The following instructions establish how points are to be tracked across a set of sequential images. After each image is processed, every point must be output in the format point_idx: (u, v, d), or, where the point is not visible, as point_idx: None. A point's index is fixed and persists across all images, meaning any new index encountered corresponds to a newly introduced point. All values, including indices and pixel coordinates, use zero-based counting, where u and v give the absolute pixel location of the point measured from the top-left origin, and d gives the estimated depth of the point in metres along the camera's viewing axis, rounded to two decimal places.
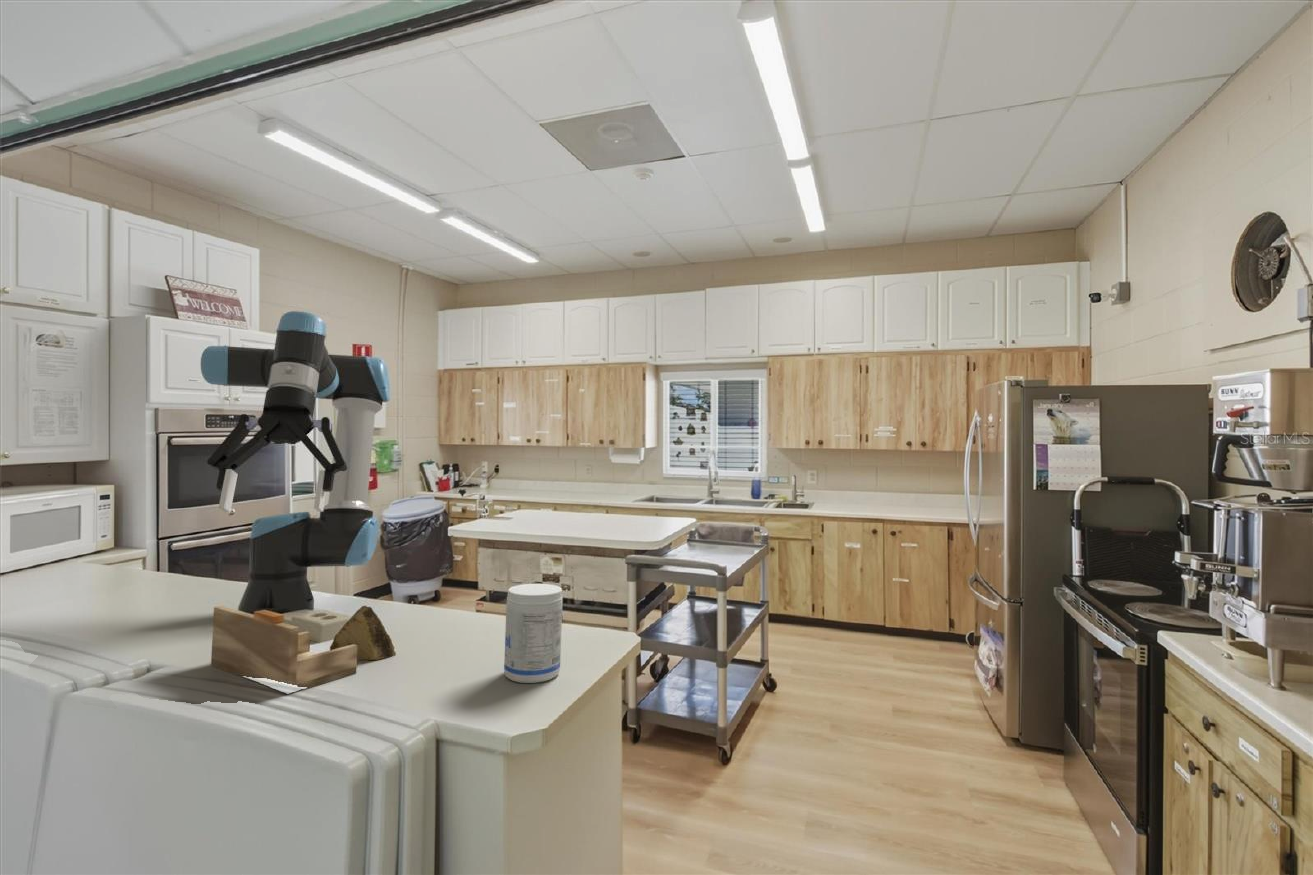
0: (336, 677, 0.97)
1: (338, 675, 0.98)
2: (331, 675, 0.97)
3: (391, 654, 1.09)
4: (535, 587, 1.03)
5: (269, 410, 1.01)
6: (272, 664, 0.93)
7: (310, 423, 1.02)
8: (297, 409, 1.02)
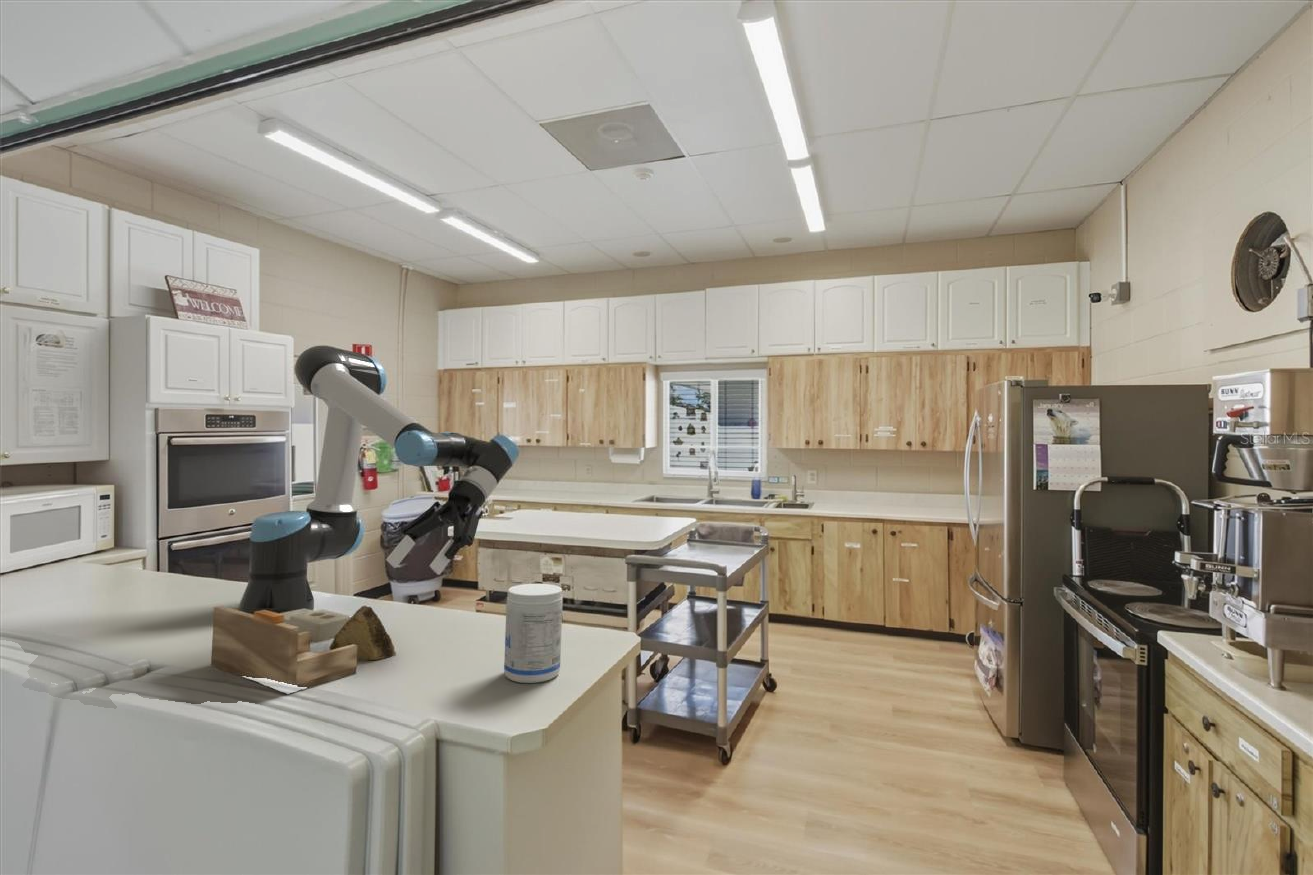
0: (336, 677, 0.97)
1: (338, 675, 0.98)
2: (331, 675, 0.97)
3: (391, 654, 1.09)
4: (535, 587, 1.03)
5: (451, 499, 1.31)
6: (272, 664, 0.93)
7: (466, 508, 1.26)
8: (463, 498, 1.28)
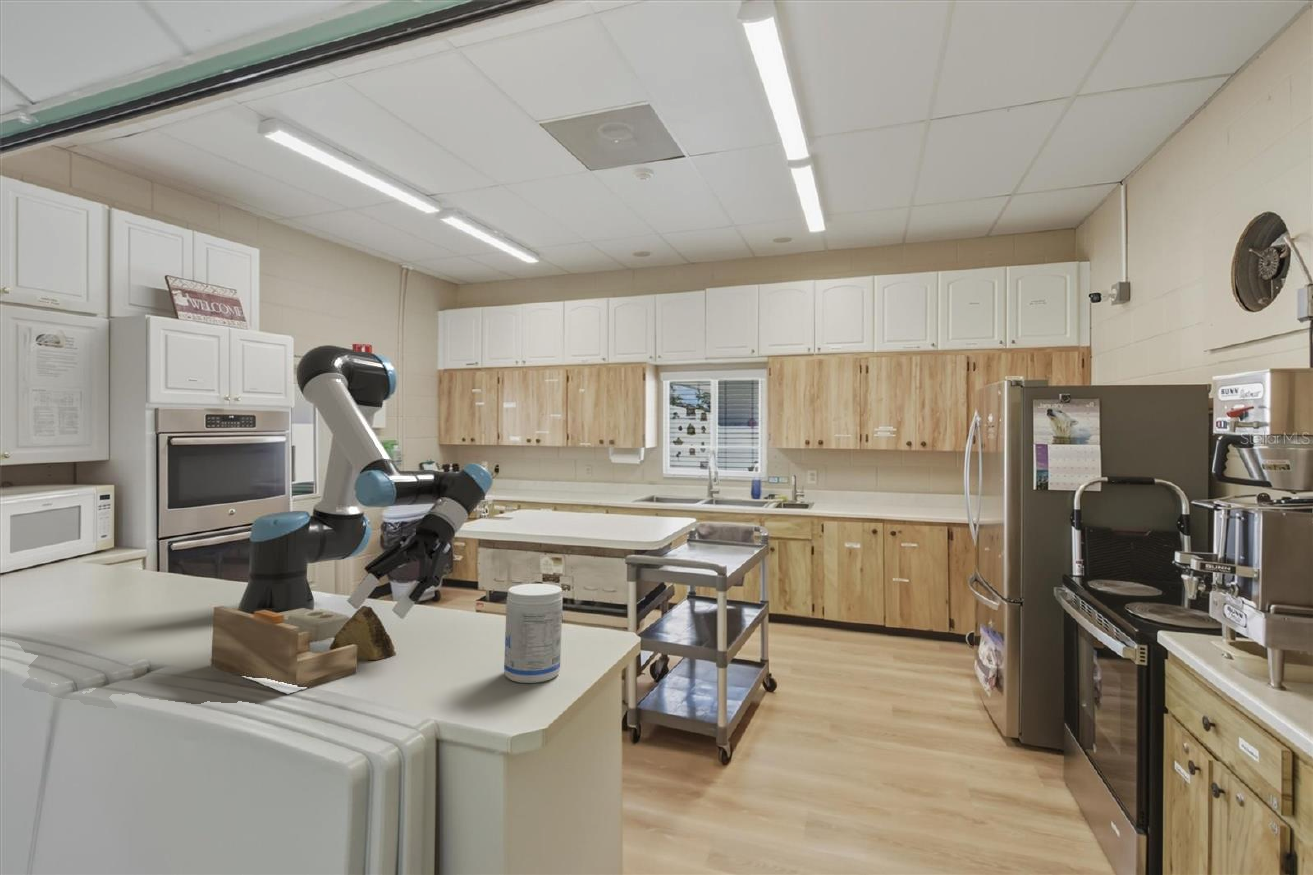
0: (336, 677, 0.97)
1: (338, 675, 0.98)
2: (331, 675, 0.97)
3: (391, 654, 1.09)
4: (535, 587, 1.03)
5: (418, 534, 1.23)
6: (272, 664, 0.93)
7: (434, 544, 1.19)
8: (431, 533, 1.21)
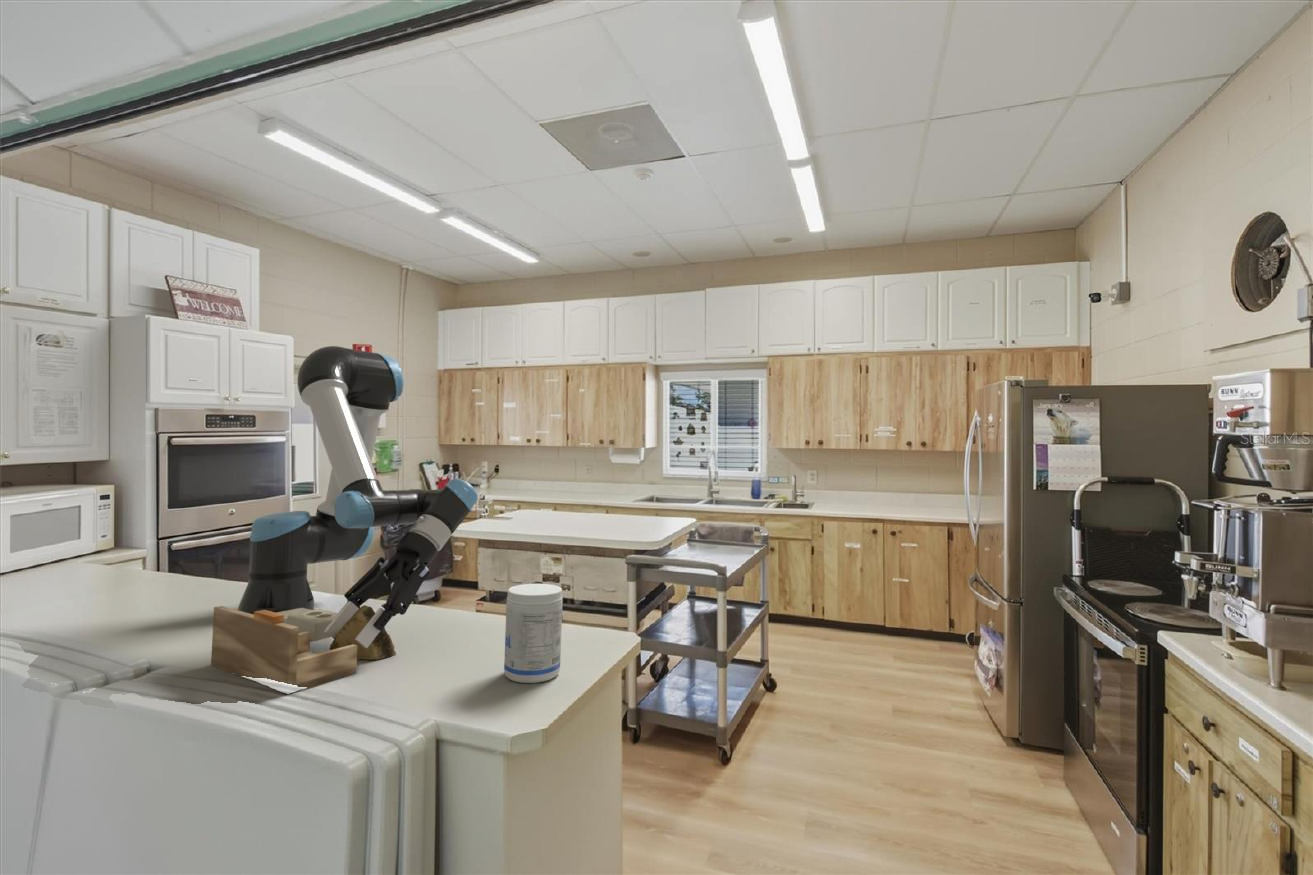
0: (336, 677, 0.97)
1: (338, 675, 0.98)
2: (331, 675, 0.97)
3: (391, 654, 1.09)
4: (535, 587, 1.03)
5: (399, 552, 1.19)
6: (272, 664, 0.93)
7: (414, 564, 1.15)
8: (411, 552, 1.17)
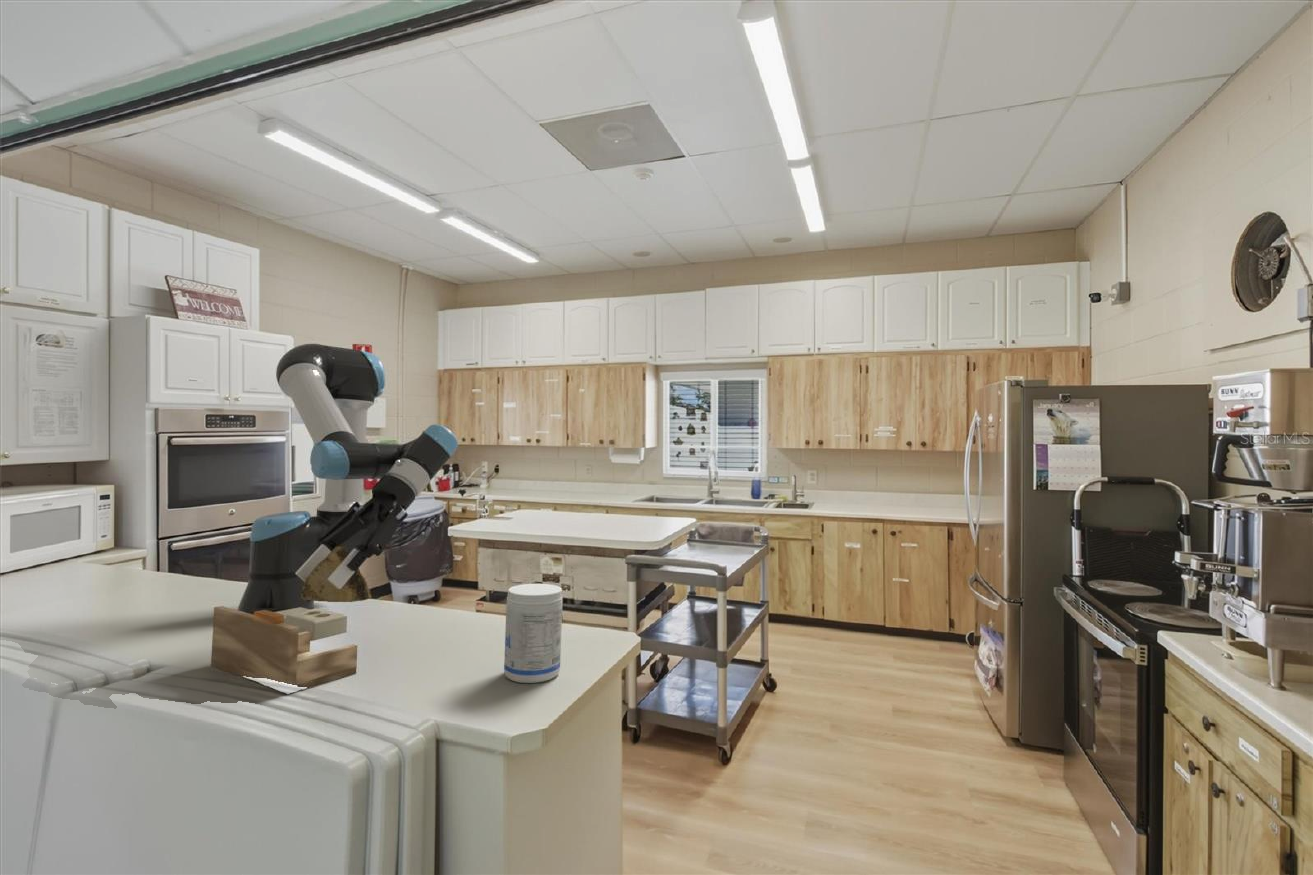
0: (336, 677, 0.97)
1: (338, 675, 0.98)
2: (331, 675, 0.97)
3: (366, 597, 1.05)
4: (535, 587, 1.03)
5: (375, 496, 1.15)
6: (272, 664, 0.93)
7: (390, 507, 1.10)
8: (388, 495, 1.12)
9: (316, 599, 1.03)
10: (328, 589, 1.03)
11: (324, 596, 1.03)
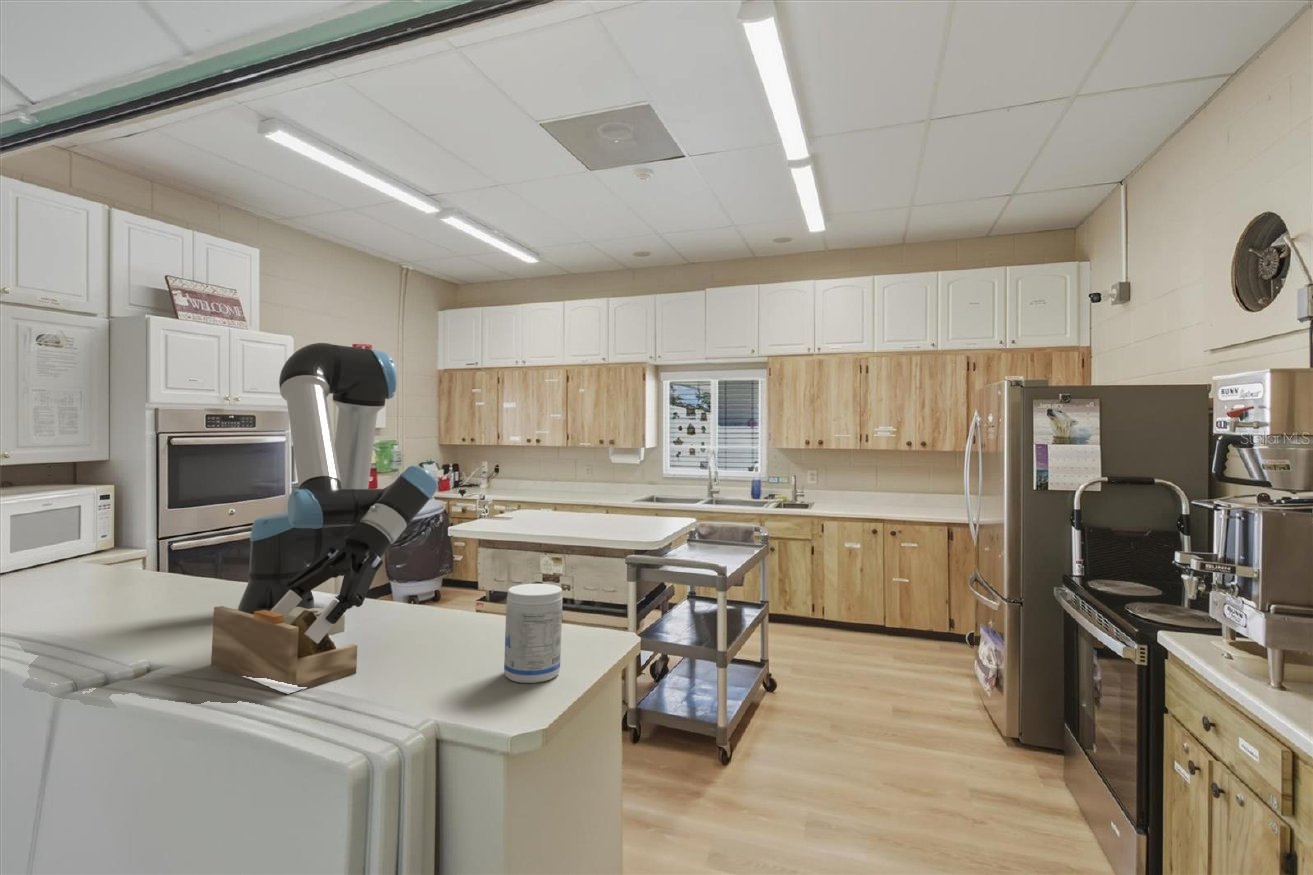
0: (336, 677, 0.97)
1: (338, 675, 0.98)
2: (331, 675, 0.97)
3: None
4: (535, 587, 1.03)
5: (348, 544, 1.10)
6: (272, 664, 0.93)
7: (362, 557, 1.06)
8: (360, 544, 1.07)
9: None
10: None
11: None
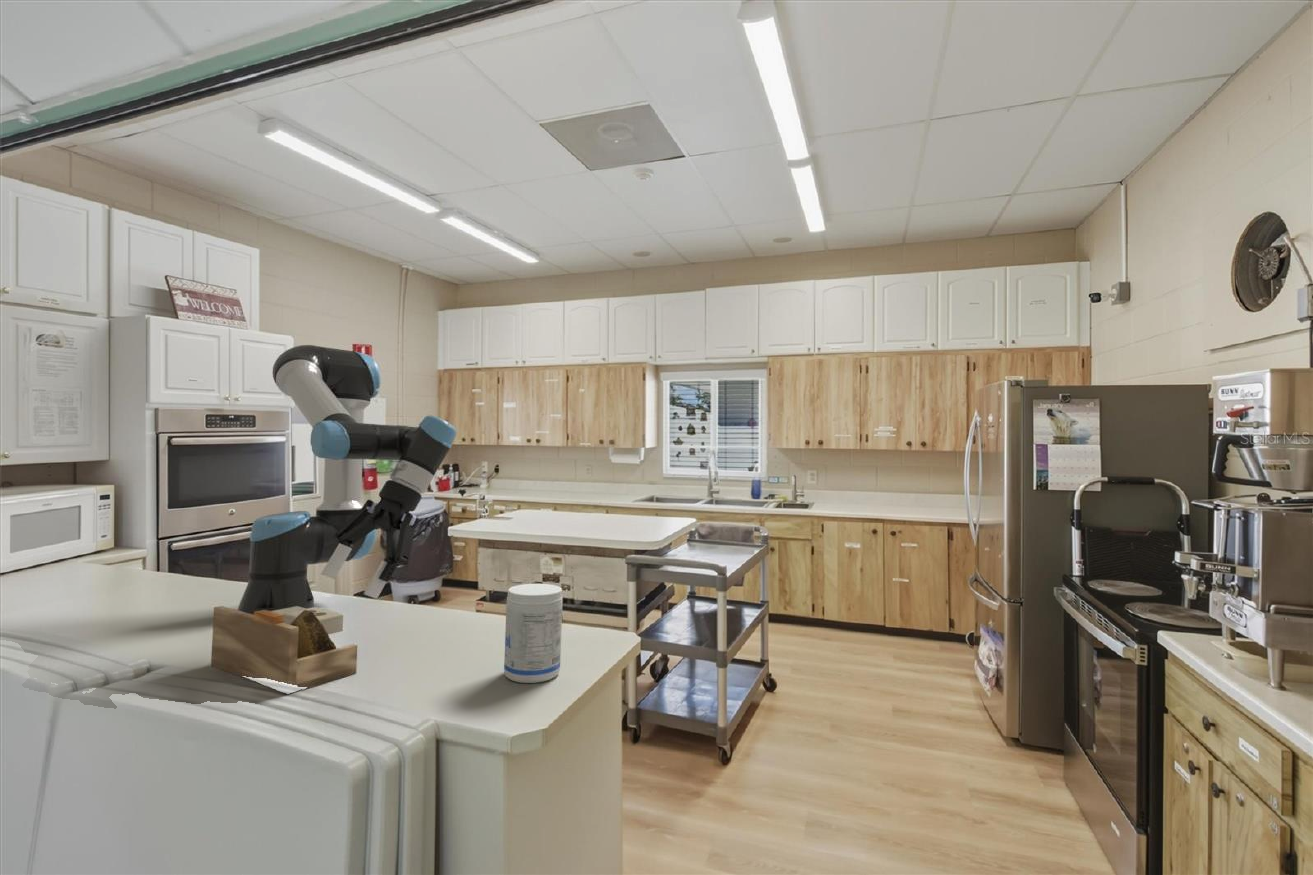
0: (336, 677, 0.97)
1: (338, 675, 0.98)
2: (331, 675, 0.97)
3: None
4: (535, 587, 1.03)
5: (383, 499, 1.19)
6: (272, 664, 0.93)
7: (399, 516, 1.15)
8: (395, 502, 1.16)
9: None
10: None
11: None
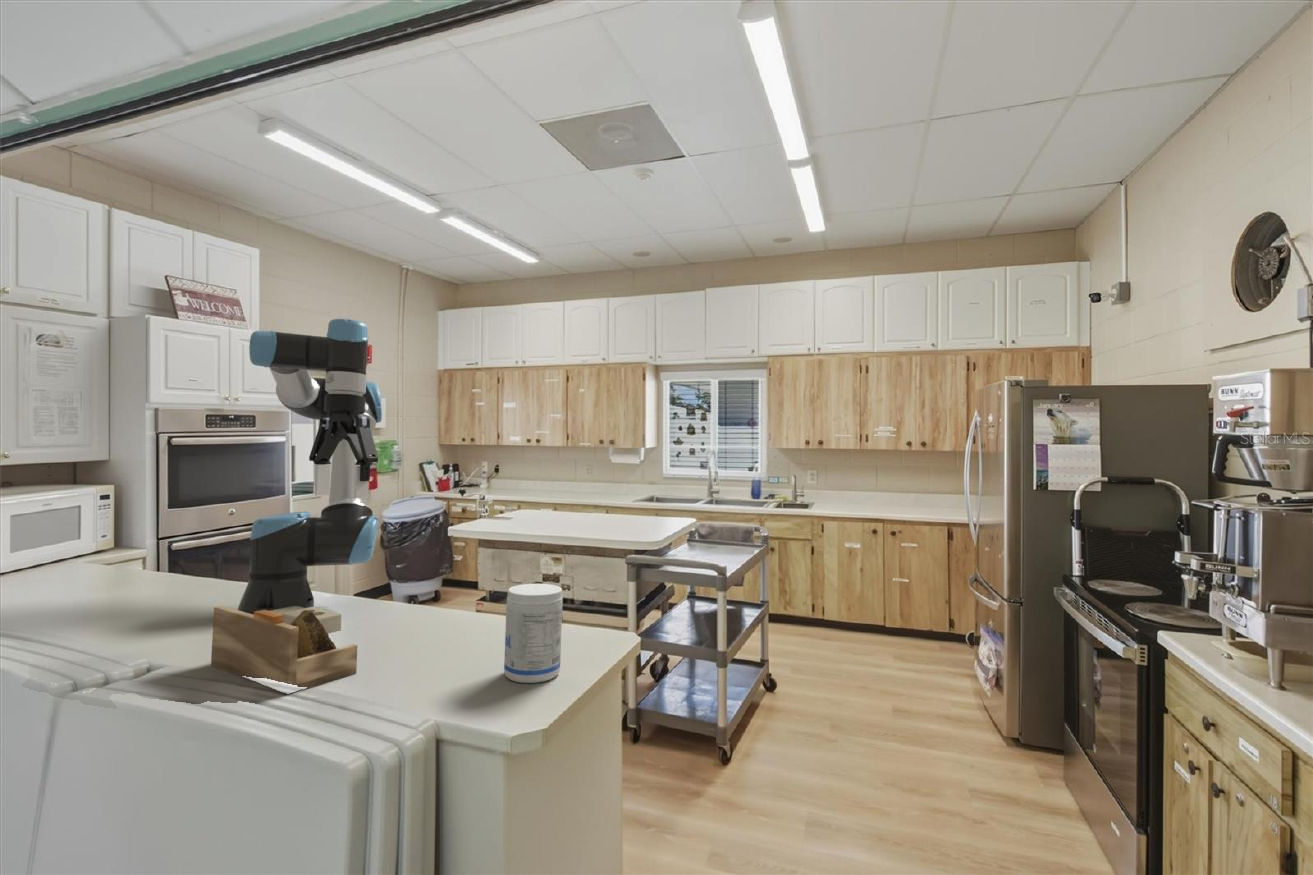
0: (336, 677, 0.97)
1: (338, 675, 0.98)
2: (331, 675, 0.97)
3: None
4: (535, 587, 1.03)
5: (332, 413, 1.23)
6: (272, 664, 0.93)
7: (351, 422, 1.20)
8: (341, 412, 1.20)
9: None
10: None
11: None
